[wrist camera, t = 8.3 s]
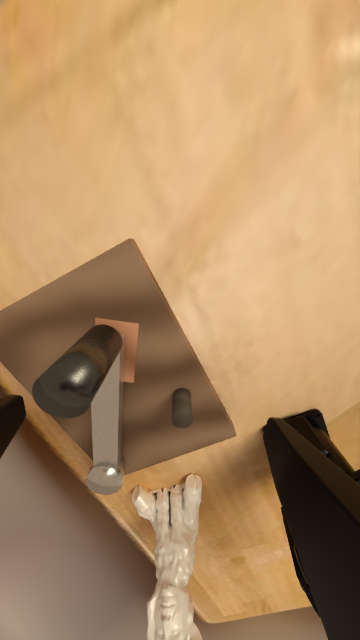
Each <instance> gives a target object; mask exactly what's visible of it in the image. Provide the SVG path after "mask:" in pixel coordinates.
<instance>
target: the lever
mask: <svg viewBox="0 0 360 640" xmlns="http://www.w3.org/2000/svg"><path fill="white" fill-rule="evenodd" d="M124 351H125V335H122V334H120V333H119V332H118V331H117V330H116V329H114V328H113V327H111V326H109V325H104V324H100V325H96V326H93V327H92V328H90V329H89V330H88V331H87V332H86V333H85V334H84V335H83V336H82V337H81V338H80V339H79V340H78V341H77V342H76V343H75V344H73V345H72V346H71V347H70V348H69V349H68V350H67V351H66V352H65V353H64V354H63V355H62V356H61V357H60V358H59V359H58V360H57V361H56V362H54V363H53V364H52V365H51V366H50V367H49V368H48V369H47V370H46V371H45V372H44V373H43V374H42V375H41V376H40V377H39V378H38V379H36V381H35V382H34V384H33V387H32V395H33V398H34V400H35V402H36V403H37V405H38V406H39V407H40V408H41V409H42V410H43V411H45V412H46V413H48V414H50V415H52V416H55V417H59V418H75V417H78V416H80V415H82V414H83V413H85V412H86V411H87V409H88V408H89V406H90V404H91V416H92V442H93V464H92V466H91V469H90V471H89V474H88V476H87V479H86V484H87V486H88V488H89V489H91V490H92V491H94V492H96V493H99V494H113V493H115V492H117V491H119V490H120V488H121V485H122V481H123V477H124V473H125V469H126V461H125V459H124V458H123V457H122V456H121V447H122V415H123V383H124Z"/></svg>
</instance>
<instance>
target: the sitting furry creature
mask: <svg viewBox="0 0 360 640" xmlns="http://www.w3.org/2000/svg"><path fill="white" fill-rule="evenodd" d="M183 489H184V491H183ZM168 491H171V495H170V498H169V496H168V495H169V494H168ZM182 491H183V492H182ZM156 492H157V494H156V495H155V494H154V493H156ZM201 495H202V481H201V478H200V477H199V476H198V475H197V474H195V475H193V474H191V475H189V476H188V477H187V478H186V481H185V483H182V484H179V485H176V486H175V488H174V486H172V487H171V489H167V488H165V487H164V489H163V491H162V489H161V488H159V489H156V490H151V491H149V490H148V489H146V488H145V487H144V486H141V485H140V484H139V485H138V486H136V487H135V489H134V491H133V493H132V497H131V501H132V503H133V504H134V505H135V507H136V510H137V512H138V514H139V516H142V517H143V518H144V519H148V520H149V521H150V522H151V524H152V526H153V528H154V532H155V533H156V539H155V542H156V545H155V548H154V554H155V561H154V562H155V566H156V578H157V579H158V582H157V585H156V588H155V591H154V594H153V596H152V597H151V598H150V600H149V601H148V603H147V614H148V615H147V616H148V629H147V639H146V640H202V637H201V634H200V632H199V630H198V628H197V626H196V625H195V624H194V622H193V613H194V607H193V604H192V601H191V597H190V595H189V594H188V592H187V591H186V590H185V587H186V586H187V584H188V581H189V578H190V576H191V574H192V573H193V565H194V562H195V561H194V557H195V553H196V552H195V545H196V540H197V536H198V530H199V527H198V524H199V508H200V503H201V501H202V498H201Z"/></svg>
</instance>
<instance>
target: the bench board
mask: <svg viewBox="0 0 360 640" xmlns="http://www.w3.org/2000/svg"><path fill="white" fill-rule="evenodd" d="M100 324H104V325H109V326H111V327H113V328H114V329H116V330H117V331H118V332H119V333H120V334H122V335H125V351H124V383H123V415H122V447H121V456H122V457H123V458H124V459H125V461H126V469H125V473H124V475H126V474H129V473H132V472H135V471H138V470H140V469H143V468H146V467H149V466H152V465H155V464H158V463H160V462H163V461H166V460H169V459H172V458H175V457H178V456H180V455H183V454H186V453H189V452H192V451H195V450H198V449H201V448H203V447H206V446H209V445H212V444H215V443H218V442H221V441H223V440H226V439H229V438H232V437H235V436H236V432H235V429H234V425H233V423H232V421H231V419H230V417H229V416H228V414H227V412H226V410H225V408H224V406H223V404H222V403H221V401H220V399H219V397H218V395H217V393H216V391H215V390H214V388H213V386H212V384H211V382H210V380H209V378H208V377H207V375H206V373H205V371H204V369H203V367H202V365H201V363H200V362H199V360H198V358H197V356H196V354H195V352H194V350H193V349H192V347H191V345H190V343H189V341H188V339H187V337H186V336H185V334H184V332H183V330H182V328H181V326H180V324H179V322H178V321H177V319H176V317H175V315H174V313H173V311H172V309H171V308H170V306H169V304H168V302H167V300H166V298H165V296H164V295H163V293H162V291H161V289H160V287H159V285H158V283H157V281H156V280H155V278H154V276H153V274H152V272H151V270H150V268H149V267H148V265H147V263H146V261H145V259H144V257H143V255H142V254H141V252H140V250H139V248H138V246H137V244H136V242H135V241H134V239H128V240H126V241H124V242H122V243H120V244H119V245H117V246H115V247H113V248H112V249H110V250H108V251H106V252H104V253H103V254H101V255H99V256H97V257H95V258H94V259H92V260H90V261H88V262H87V263H85V264H83V265H81V266H79V267H78V268H76V269H74V270H72V271H70V272H69V273H67V274H65V275H63V276H62V277H60V278H58V279H56V280H54V281H53V282H51V283H49V284H47V285H46V286H44V287H42V288H40V289H38V290H37V291H35V292H33V293H31V294H29V295H28V296H26V297H24V298H22V299H21V300H19V301H17V302H15V303H13V304H12V305H10V306H8V307H6V308H4V309H3V310H1V311H0V362H1V363H2V364H3V365H4V366H5V367H6V368H7V369H8V370H9V371H10V372H11V373H12V374H13V375H14V377H15V378H16V379H17V380H18V381H19V382H20V383H21V384H22V385H23V386H24V387H25V388H26V389H27V390H28V391H29V393H30V394H31V395H32V387H33V384H34V382H35V381H36V379H38V378H39V377H40V376H41V375H42V374H43V373H44V372H45V371H46V370H47V369H48V368H49V367H50V366H51V365H52V364H53V363H54V362H56V361H57V360H58V359H59V358H60V357H61V356H62V355H63V354H64V353H65V352H66V351H67V350H68V349H69V348H70V347H71V346H72V345H73V344H75V343H76V342H77V341H78V340H79V339H80V338H81V337H82V336H83V335H84V334H85V333H86V332H87V331H88V330H89V329H90V328H92V327H93V326H96V325H100ZM32 396H33V395H32ZM51 416H52V415H51ZM52 417H53V418H54V419H55V420H56V421H57V422H58V423H59V424H60V426H61V427H62V428H63V429H64V430H65V431H66V432H67V433H68V434H69V435H70V436H71V437H72V438H73V439H74V440H75V442H76V443H77V444H78V445H79V446H80V447H81V448H82V449H83V450H84V451H85V452H86V453H87V454H88V455H89V456H90V458H91V459H92V460H93V442H92V416H91V404H90V406H89V408H88V409H87V411H86V412H85V413H83V414H82V415H80V416H78V417H75V418H59V417H55V416H52Z"/></svg>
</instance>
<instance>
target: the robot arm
mask: <svg viewBox="0 0 360 640" xmlns="http://www.w3.org/2000/svg"><path fill="white" fill-rule="evenodd" d="M25 416H26V411H25V406H24V401H23V397H22V396H20V395H6V396H4V397H2V398H0V458H1V456H2V455H3V453H4V452H5V450H6V448H7V447H8V445H9V444H10V442H11V440H12V439H13V437H14V436H15V434H16V432H17V431H18V429H19V428H20V426H21V424H22V423H23V421H24V419H25ZM263 432H264V434H263V440H264V444H265V448H266V452H267V456H268V460H269V464H270V468H271V472H272V476H273V480H274V483H275V487H276V490H277V493H278V496H279V499H280V502H281V505H282V507H281V511H282V515H283V521H284V525H285V529H286V533H287V537H288V542H289V546H290V550H291V554H292V558H293V562H294V566H295V570H296V574H297V577H298V579H299V582H300V585H301V587H302V589H303V591H304V592H305V593H306V595H307V597H308V599H309V601H310V602H311V604H312V606H313V608H314V609H315V611H316V612H317V614H318V616H319V617H320V618H321V620H322V623H323V626H324V629H325V632H326V635H327V637H328V640H360V469H359V470H357V471H354V469H353V468H352V467H351V465H350V464H349V463H348V462H347V460H346V459H345V458H344V456H343V455H342V454H341V453H340V451H339V450H338V449H337V447H336V446H335V445H334V443H333V442H332V441H331V440H330V437H329V434H328V431H327V428H326V424H325V421H324V418H323V415H322V413H321V412H320V411H319V410H318V409H315V410H312V411H309V412H306V413H303V414H300V415H297V416H295V417H292V418H289V419H286V420H282V419H281V418H273V417H271V418H269V419H268V421H267V424H266V427H264V428H263Z"/></svg>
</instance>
